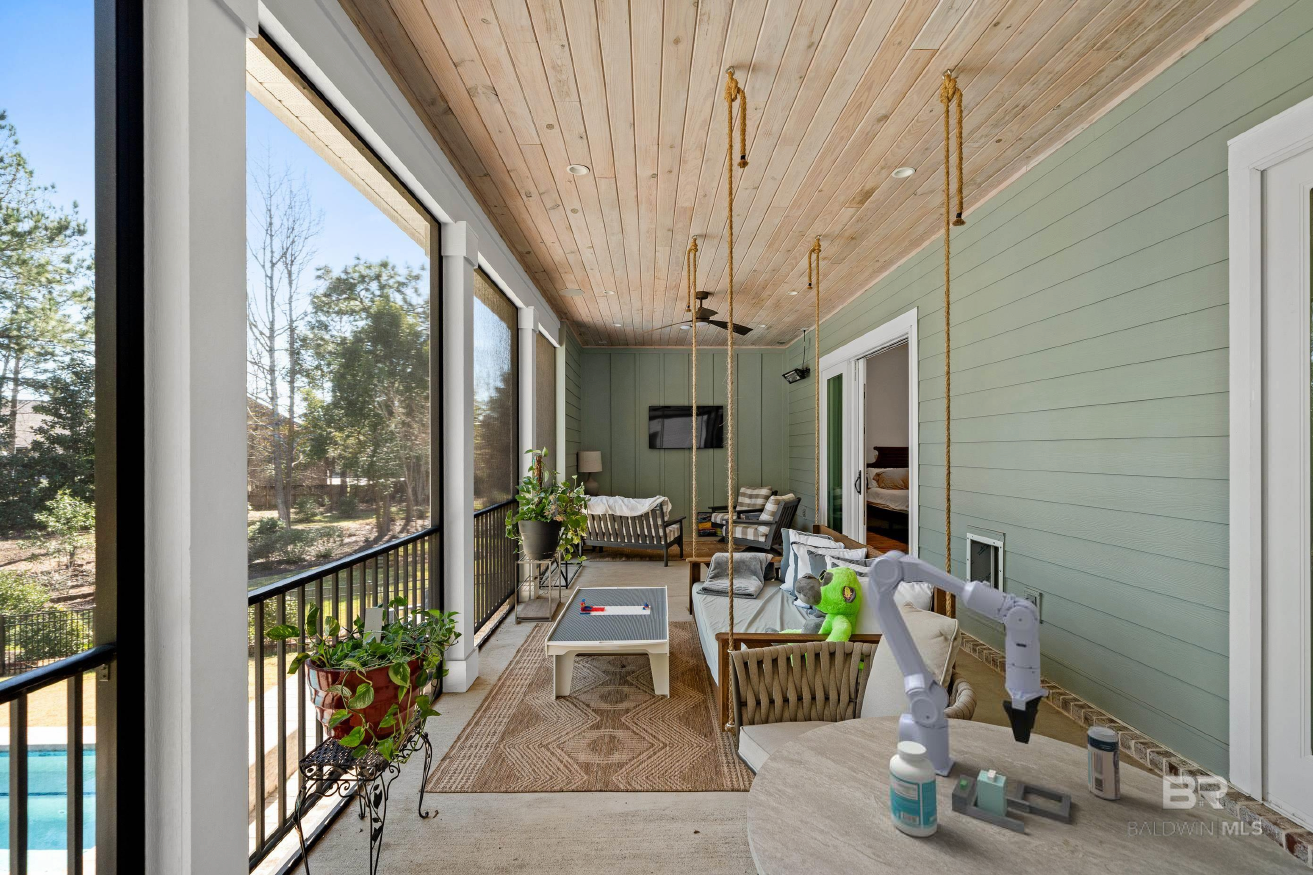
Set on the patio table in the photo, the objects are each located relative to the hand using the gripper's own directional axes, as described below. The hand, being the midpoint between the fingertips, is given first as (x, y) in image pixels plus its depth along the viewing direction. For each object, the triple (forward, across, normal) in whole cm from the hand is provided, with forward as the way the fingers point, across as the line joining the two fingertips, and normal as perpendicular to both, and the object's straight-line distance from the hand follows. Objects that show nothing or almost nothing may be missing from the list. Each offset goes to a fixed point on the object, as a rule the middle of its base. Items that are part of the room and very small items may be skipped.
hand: (1024, 734), depth 115 cm
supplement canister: (+11, +7, -12) cm, 17 cm away
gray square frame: (+10, -4, -3) cm, 12 cm away
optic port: (+10, -12, +4) cm, 16 cm away
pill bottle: (+11, -25, +14) cm, 31 cm away
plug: (+10, -12, +4) cm, 16 cm away
